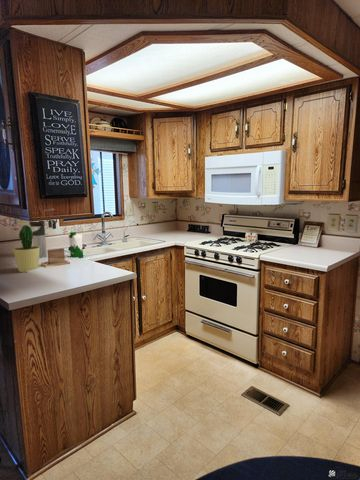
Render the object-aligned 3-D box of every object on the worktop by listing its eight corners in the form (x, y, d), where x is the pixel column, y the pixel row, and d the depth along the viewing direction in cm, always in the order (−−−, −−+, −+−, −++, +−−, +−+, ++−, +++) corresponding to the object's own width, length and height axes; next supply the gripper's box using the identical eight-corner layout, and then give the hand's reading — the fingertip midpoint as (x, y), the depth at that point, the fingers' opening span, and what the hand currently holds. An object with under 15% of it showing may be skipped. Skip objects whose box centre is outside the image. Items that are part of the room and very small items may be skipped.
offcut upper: (45, 264, 216) (45, 261, 216) (61, 261, 223) (61, 259, 223) (46, 265, 214) (46, 262, 214) (63, 262, 221) (62, 260, 220)
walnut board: (48, 267, 213) (47, 249, 211) (63, 265, 219) (62, 248, 218) (50, 268, 211) (48, 250, 209) (65, 265, 217) (64, 248, 215)
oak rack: (41, 266, 216) (40, 262, 216) (64, 262, 226) (64, 259, 226) (46, 269, 208) (45, 265, 207) (70, 265, 218) (70, 261, 217)
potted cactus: (16, 268, 209) (12, 223, 205) (42, 266, 215) (38, 222, 210) (13, 274, 195) (9, 225, 191) (40, 271, 200) (37, 224, 196)
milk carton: (68, 258, 243) (66, 232, 241) (78, 256, 250) (77, 231, 247) (74, 259, 238) (73, 233, 235) (85, 257, 245) (83, 231, 242)
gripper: (41, 204, 218) (43, 227, 221) (48, 205, 208) (50, 229, 210) (52, 204, 223) (54, 226, 226) (59, 204, 212) (61, 228, 215)
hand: (52, 228), depth 218 cm, fingers open, 8 cm apart
